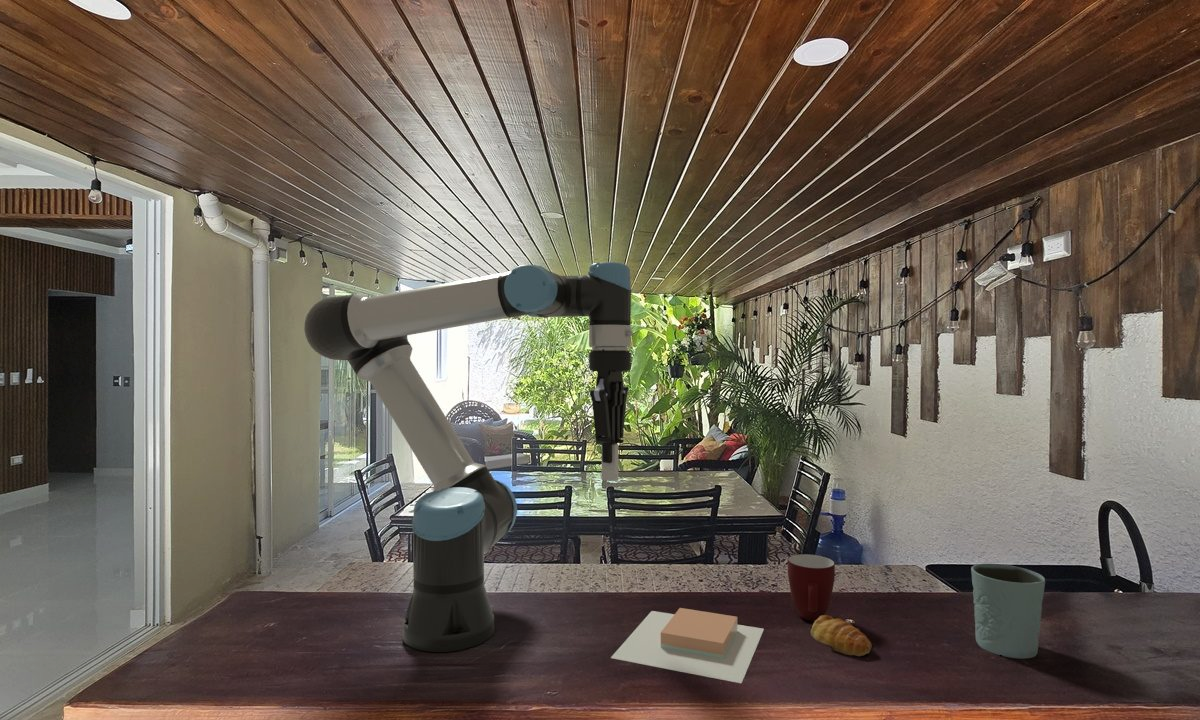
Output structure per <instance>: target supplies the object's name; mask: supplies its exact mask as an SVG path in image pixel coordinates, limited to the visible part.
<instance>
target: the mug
mask: <svg viewBox="0 0 1200 720" xmlns="http://www.w3.org/2000/svg"><path fill="white" fill-rule="evenodd" d="M835 568H836V567H835V561H833V560H832V559H830V558H828V557H825V556H823V555H822V556H821V555H816V554H806V553H805V554H793V555H791V556H789V557H788V558H787V579H788V583H789V590H790V595H791V600H792V603H793V605H794V608H795V610H796V611H797V613H798V616H799V617H800V618H802V619H804V620H808V621H813V622H815V621H816V620H817V619H818V618H819V617H820V616H822V615H826V614H827V611H828V610H829V607H830V606H831V600H832V594H833V589H834V584H835V578H836V572H835V571H836V569H835Z"/></svg>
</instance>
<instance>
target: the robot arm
mask: <svg viewBox="0 0 1200 720" xmlns="http://www.w3.org/2000/svg"><path fill="white" fill-rule="evenodd" d="M588 269H589V270H588V272H587V274H582V275H560V274H557V273H554V272H552V271H550V270H548V269H547V268H545V267H543V266H541V265H536V264H522V265H519V266H516V267H515V268H513V269H511V271H507V272H501V273H495V274H490V275H485V276H483V275H482V276H480V277H479V276H478V277H473V278H468V279H462V280H456V281H450V282H447V283H440V284H436V285H429V286H423V287H418V288H414V289H408V290H402V291H397V292H391V293H390V292H389V293H386V294H381V295H375V296H370V297H369V296H368V295H366V294H364V293H362V292H361V293H360V292H359V293H353V294H347V295H341V296H340V295H339V296H329V297H326V298H323V299H321V300H319V301H318V302H316V303H315V304H313V306H312V307H311V308H310V309H309V311H308V313H307V314H306V316H305V319H304V320H305V321H304V327H303V328H304V329H303V330H304V335H305V339H306V340H307V343H308V344H309V346H310V347H311V348H312V349H313V350H314V352H316V353H317V354H319V355H320V356H322V357H325V359H326V358H327V359H330V360H335V361H347V362H348V364H349V365H350V367H351V369H352V370H353V372H354V373H355V375H356V377H357V378H358V379H360V380H364V381H368V382H370V383H371V385H372V387H373V389H374V390H375V392H376V394H377V395H378V397H379V398H380V400H381V402H382V404H383V405H384V407H385V408H386V410H387V412H388V413H389V416H391V418H392V420H393V422H394V423H395V425H396V426H397V428H398V430H399V431H400V433H401V435H402V436H403V438H404V439H405V441H406V443H407V444H408V446H409V447H410V449H411V451H412V452H413V454H414V455H415V457H416V459H417V461H418V462H419V464H420V465H421V466H420V467H421V468H422V469H423V471H424V473H425V474H426V476H427V477H428V479H429V481H430V482H431V483H432V485H433V491H430V492H428V493H425V494H423V495H422V496H420V497H419V499H418V500H417V501H416V502H415V505H414V507H413V515H412V517H413V518H412V520H411V527H412V552H413V554H412V556H413V557H412V564H413V566H412V568H413V569H412V570H413V571H412V572H413V573H412V575H413V576H412V577H413V585H412V586H413V590H412V594H411V596H410V600H409V603H408V606H407V609H406V611H405V612H406V613H405V617H404V619H403V621H402V641H403V642H404V643H405V645H407V646H408V647H410V648H412V649H415V650H418V651H422V652H430V653H447V652H448V653H449V652H456V651H461V650H466V649H470V648H472V647H476V646H478V645H480V644H482V643H484V642H486V641H487V640H489V639H490V638H491V637H492V636H493V634H494V633H495V614H494V612H493V610H492V606H491V602H490V599H489V597H488V596H489V594H488V593H487V590H486V586H485V578H484V577H485V552H486V551H489V549H491V548H492V547H493V546H494V545H496V544H497V543H499V542H500V541H503V539H505V537H506V536H507V535H508V533H509V532H510V531H511V529H512V528H513V526H514V525H515V522H516V519H517V514H518V505H517V499H516V496H515V495H514V492H513V491H512V490H511V488H510V487H509V486H508V485H507V484H505V483H504V482H502V481H501V480H498V479H495V478H494V477H493V476H492V474H491V472H490V470H489V469H488V467H487V465H485V464H481V463H477V462H475V461H474V460H473V458H472V457H471V455H470V454H469V452H468V450H467V449H466V447H465V446H464V444H463V442H462V440H461V439H460V438H459V436H458V434H457V432H456V431H455V430H454V428H453V426H452V425H451V423H450V421H449V420H448V418H447V416H446V415H445V414H444V412H443V410H442V408H441V407H440V406H439V404H438V402H437V400H436V399H435V397H434V396H433V393H431V391H430V389H429V387H428V386H427V384H426V383H425V381H424V379H423V378H422V376H421V375H420V373H419V371H418V370H417V368H416V366H415V364H414V363H413V362H412V360H411V357H412V356H411V355H412V352H413V347H412V345H411V343H410V341H409V338H408V336H412V335H417V334H422V333H428V332H434V331H440V330H446V329H451V328H457V327H463V326H468V325H474V324H480V323H485V322H492V321H497V320H503V319H509V318H515V317H516V318H517V317H524V316H529V317H532V318H533V317H535V318H543V319H547V318H568V317H569V318H570V317H582V318H583V317H585V318H586V317H588V319H589V320H588V321H589V322H588V323H589V325H588V346H589V348H592V349H591V350H590V352H589V353H588V355H589V356H588V364H589V366H588V368H589V370H590V371H591V372H597V374H596V375H597V376H596V381H595V383H596V384H595V388H594V389H593V388H591V389H590V390H589V396H590V399H591V403H592V404H591V405H592V415H593V422H594V433H595V435H594V436H595V443H596V445H601V447H600V448H601V451H600V452H601V456H600V457H601V461H600V462H601V466H600V467H601V473H600V474H601V476H600V477H601V481H607V482H616V481H619V444H623V443H624V442H625V441H624V439H623V438H624V430H625V419H626V418H625V417H626V410H627V409H626V408H627V398H628V393H629V387H628V385H625V384H624V378H623V372H629V371H630V370H631V367H632V366H631V365H632V361H631V360H632V353H631V352H630V350H628V348H630V347H631V343H632V342H631V337H632V336H633V335H634V331H633V330H631V326H632V325H631V324H632V322H631V319H632V287H631V270H630V267H629V266H628V265H627V264H626V263H622V262H614V261H605V262H604V261H602V262H595V263H591V264H590V265H589V268H588ZM624 385H625V386H624Z"/></svg>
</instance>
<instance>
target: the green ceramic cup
mask: <svg viewBox="0 0 1200 720" xmlns="http://www.w3.org/2000/svg"><path fill="white" fill-rule="evenodd" d="M970 571H971V572H970V573H971V582H972V587H973V588H972V589H973V590H972V595H973V605H974V606H973V609H974V615H973V616H974V623H975V626H974V629H975V631H974V632H975V634H974V635H975V641H976V643H977V645H978V647H980V648H981V649H983V650H984V651H986V652H989V653H991V654H994V655H997V656H1000V655H1002V656H1001V657H1005V658H1010V659H1017V660H1018V659H1020V660H1021V659H1023V660H1024V659H1031V658H1034V657H1036V656H1037V654H1038V652H1039V637H1040V633H1041V632H1040V629H1041V622H1042V620H1041V619H1042V617H1041V616H1042V611H1043V609H1042V607H1043V605H1042V604H1043V599H1044V592H1045V585H1046V579H1045V577H1044V576H1043V575H1042V574H1040V573H1038V572H1036V571H1033V570H1030V569H1027V568H1023V567H1019V566H1015V565H1010V564H1009V565H1008V564H1001V563H978V564H975V565H972V566H971V569H970Z"/></svg>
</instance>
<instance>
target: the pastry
mask: <svg viewBox="0 0 1200 720" xmlns="http://www.w3.org/2000/svg"><path fill="white" fill-rule="evenodd" d="M811 627H812V628H810V635H811V637H812V639H814V640H815V641H817V642H818V643H821V644H823V645H826V646H829V647H831V650H832V651H835V652H838V653H841V654H843V655H848V656H857V657H862V656H865V655H866V654H867V655H868V654H870V652H871V649H872V648H873V647H872V641H870V639H869V638H868V637H867V635H866V634H864V633H863V632H861V631H860V629H859V628H858V627H857V628H856V627H855V626H854V625H853V624H852V623H851V622H850V621H845V620H844V619H842V618H839V617H837V618H834V617H833V616H832V615H828V614H824V615H822V616H820V617H819V618H818V619H817V620H816V621H813V624H812V626H811Z"/></svg>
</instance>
